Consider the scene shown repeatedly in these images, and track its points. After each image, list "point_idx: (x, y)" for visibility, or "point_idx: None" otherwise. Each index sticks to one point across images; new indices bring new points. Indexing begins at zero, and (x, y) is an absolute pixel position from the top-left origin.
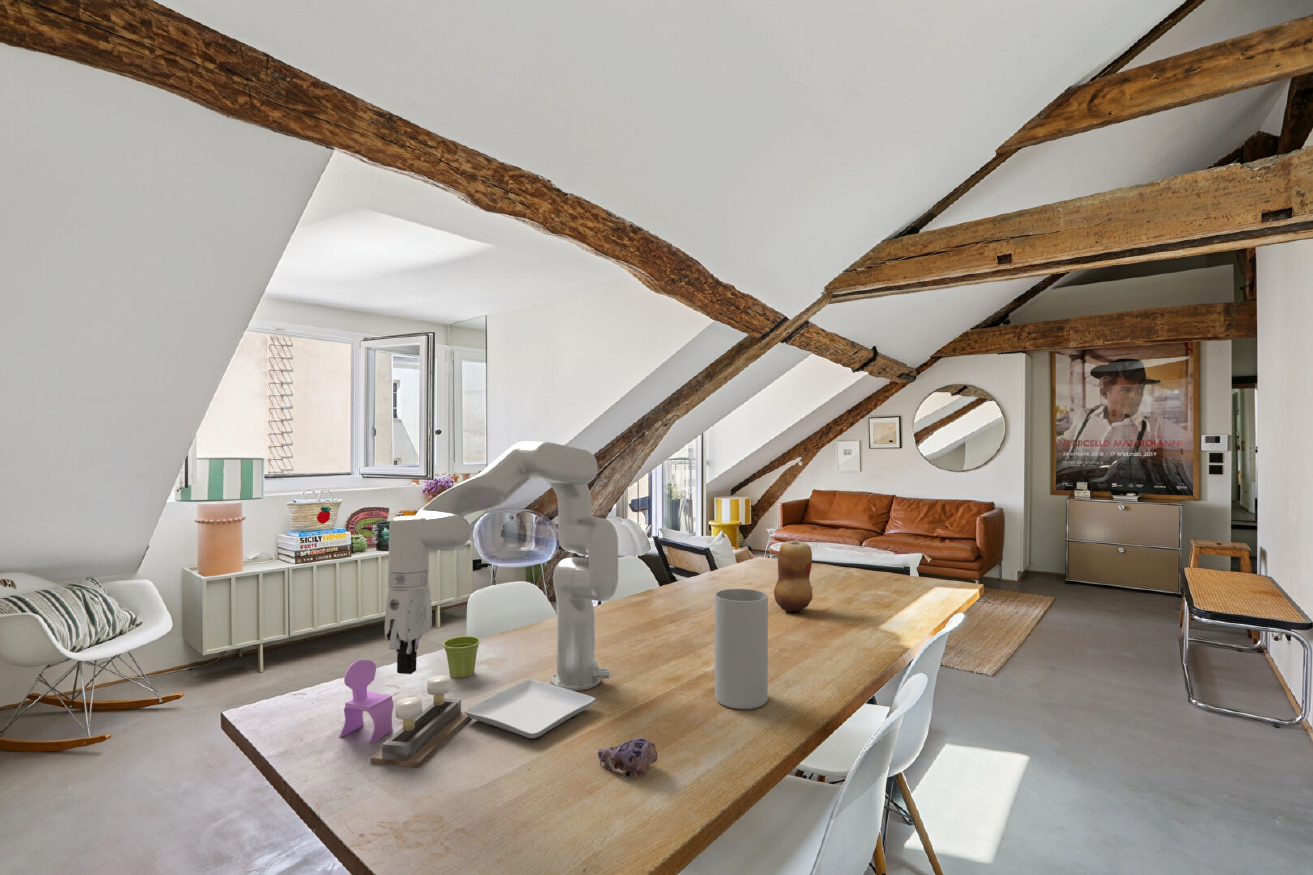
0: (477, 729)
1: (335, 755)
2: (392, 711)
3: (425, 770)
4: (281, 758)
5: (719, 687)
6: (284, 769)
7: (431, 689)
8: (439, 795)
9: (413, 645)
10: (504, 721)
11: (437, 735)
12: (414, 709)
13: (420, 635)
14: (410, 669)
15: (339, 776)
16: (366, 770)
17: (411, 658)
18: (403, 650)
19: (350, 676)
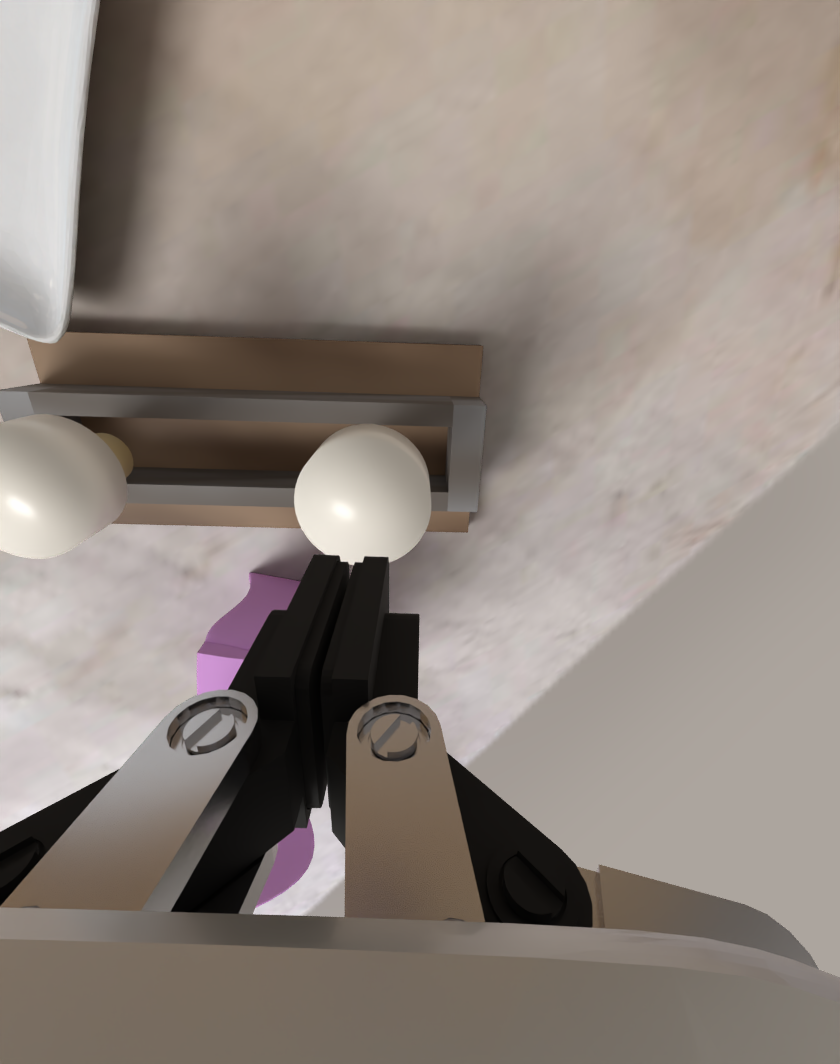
0: (128, 241)
1: (433, 639)
2: (234, 607)
3: (498, 307)
4: (464, 741)
5: None
6: (517, 706)
7: (110, 499)
8: (684, 139)
9: (235, 783)
10: (10, 99)
11: (267, 381)
12: (403, 446)
13: (133, 925)
14: (386, 584)
15: (548, 566)
16: (510, 512)
17: (376, 645)
18: (504, 802)
19: (277, 855)
